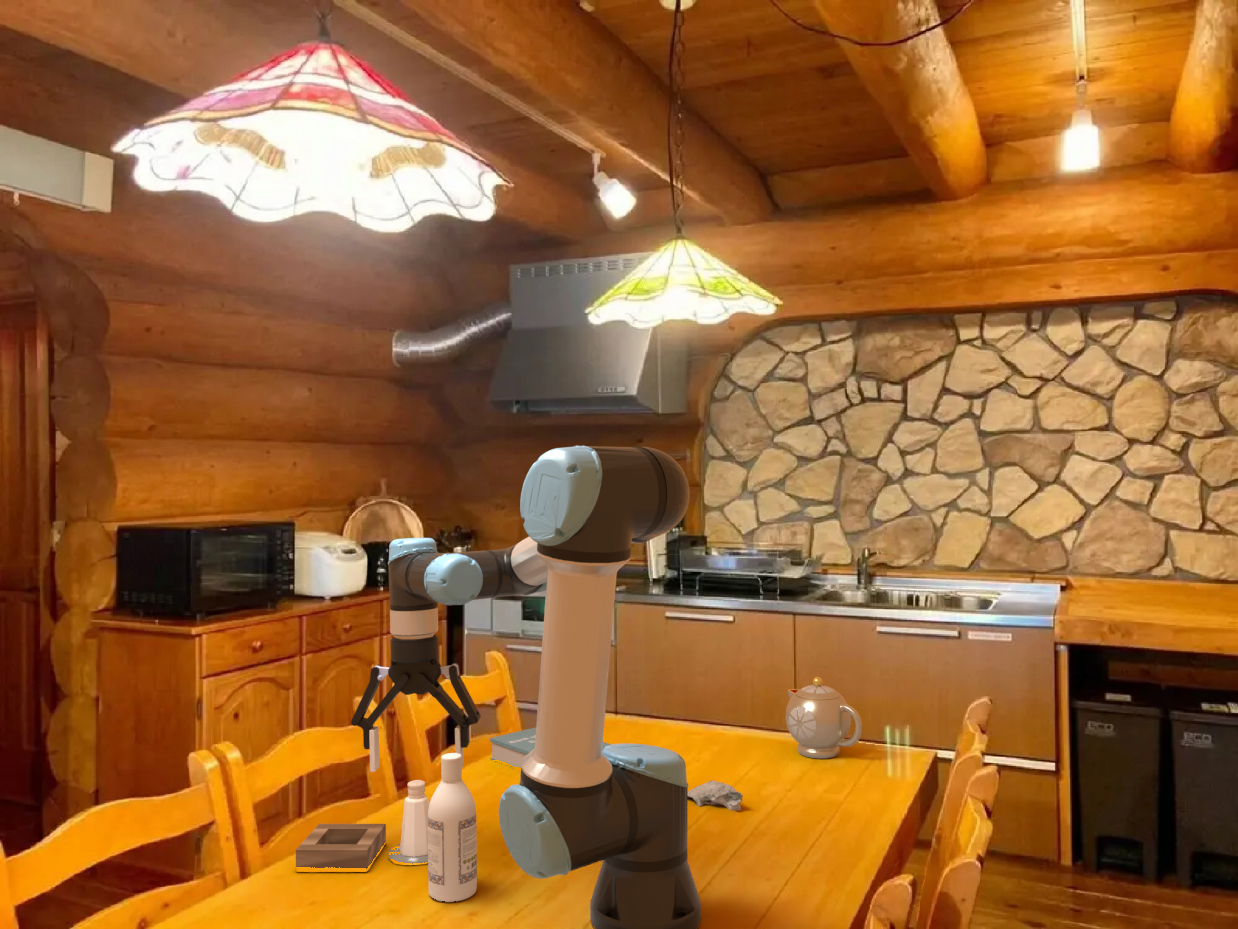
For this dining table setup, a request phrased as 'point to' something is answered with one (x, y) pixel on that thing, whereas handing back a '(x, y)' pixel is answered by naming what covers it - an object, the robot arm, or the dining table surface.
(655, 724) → the dining table surface
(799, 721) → the teapot
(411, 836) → the salt shaker
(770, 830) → the dining table surface
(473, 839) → the bath foam
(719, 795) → the stone
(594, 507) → the robot arm
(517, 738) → the book
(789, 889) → the dining table surface
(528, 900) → the dining table surface
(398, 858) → the coaster
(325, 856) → the socket block
